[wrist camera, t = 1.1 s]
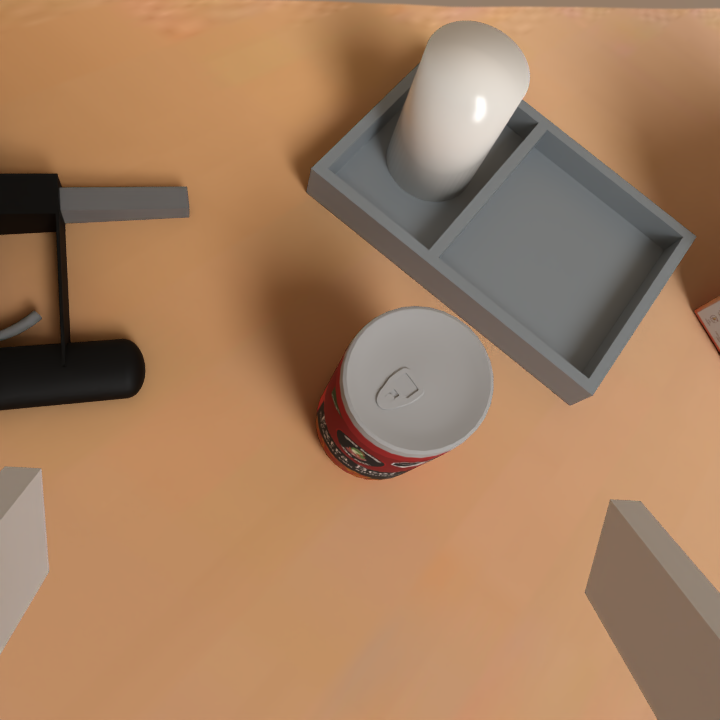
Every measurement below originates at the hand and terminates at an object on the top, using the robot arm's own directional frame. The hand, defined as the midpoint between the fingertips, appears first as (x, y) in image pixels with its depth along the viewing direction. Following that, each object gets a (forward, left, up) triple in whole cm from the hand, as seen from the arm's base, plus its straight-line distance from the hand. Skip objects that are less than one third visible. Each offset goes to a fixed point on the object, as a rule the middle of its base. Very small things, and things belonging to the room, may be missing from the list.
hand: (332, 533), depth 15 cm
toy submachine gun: (-22, +5, -26) cm, 34 cm away
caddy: (-2, +28, -25) cm, 38 cm away
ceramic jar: (-9, +28, -24) cm, 38 cm away
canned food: (0, +10, -25) cm, 27 cm away
